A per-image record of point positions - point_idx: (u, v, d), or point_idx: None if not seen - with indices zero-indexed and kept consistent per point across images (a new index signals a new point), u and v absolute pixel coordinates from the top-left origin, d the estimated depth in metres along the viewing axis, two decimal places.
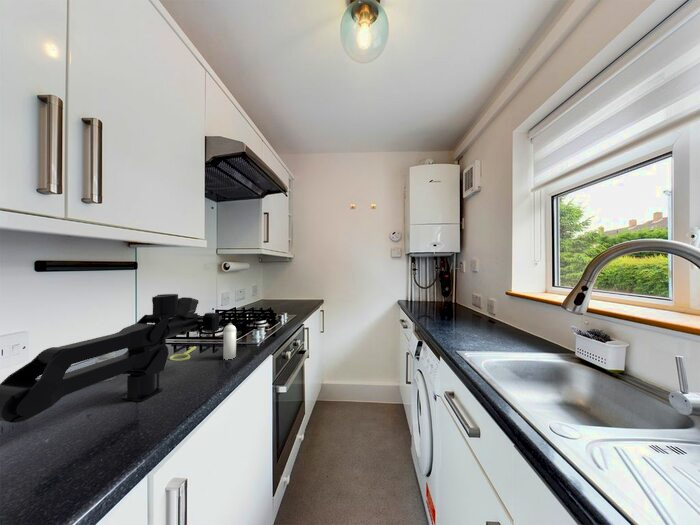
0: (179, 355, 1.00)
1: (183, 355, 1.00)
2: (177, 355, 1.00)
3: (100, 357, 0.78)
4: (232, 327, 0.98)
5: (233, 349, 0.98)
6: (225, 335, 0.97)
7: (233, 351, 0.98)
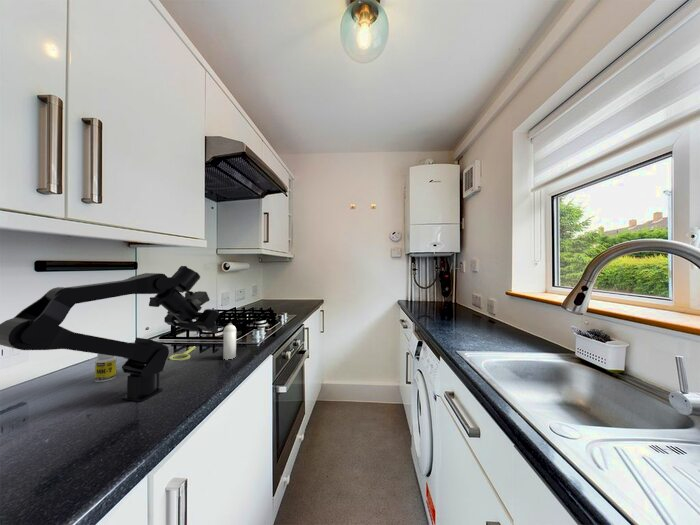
0: (179, 355, 1.00)
1: (183, 355, 1.00)
2: (177, 355, 1.00)
3: (100, 357, 0.78)
4: (232, 327, 0.98)
5: (233, 349, 0.98)
6: (225, 335, 0.97)
7: (233, 351, 0.98)
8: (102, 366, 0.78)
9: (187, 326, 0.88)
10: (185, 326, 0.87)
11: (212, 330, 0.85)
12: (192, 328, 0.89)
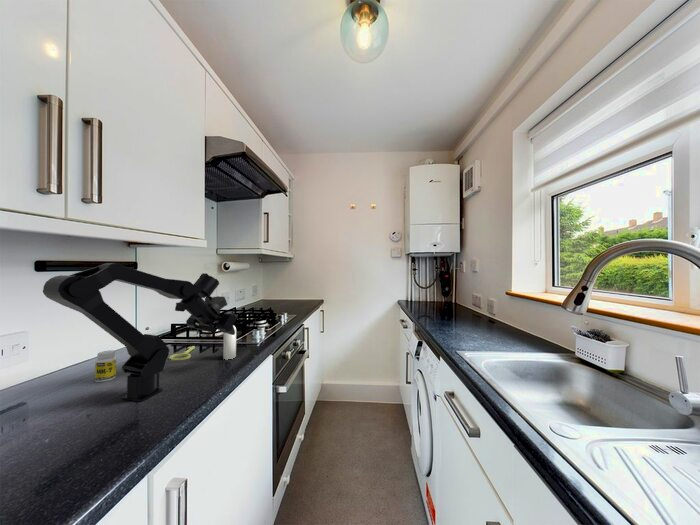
0: (179, 355, 1.00)
1: (183, 355, 1.00)
2: (177, 355, 1.00)
3: (100, 357, 0.78)
4: None
5: (233, 349, 0.98)
6: (225, 335, 0.97)
7: (233, 351, 0.98)
8: (102, 366, 0.78)
9: (206, 328, 0.95)
10: (205, 328, 0.94)
11: (230, 332, 0.92)
12: (211, 330, 0.96)
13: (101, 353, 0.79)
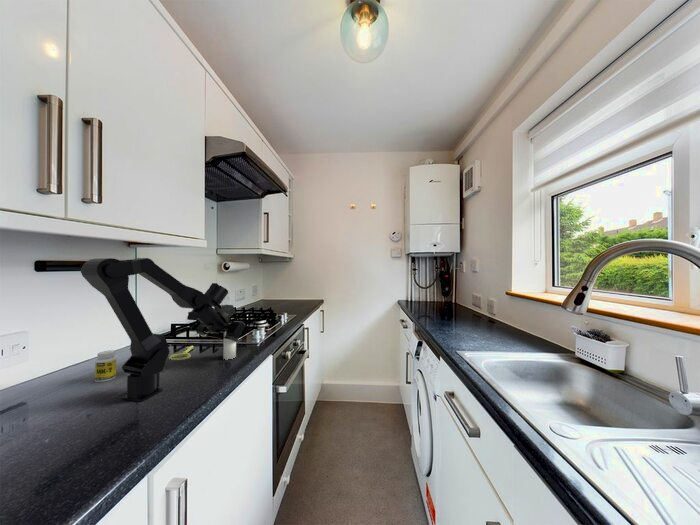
0: (178, 354, 1.00)
1: (183, 354, 1.01)
2: (176, 355, 1.00)
3: (100, 357, 0.78)
4: None
5: (233, 349, 0.98)
6: (225, 335, 0.97)
7: (233, 351, 0.98)
8: (102, 366, 0.78)
9: (220, 336, 0.98)
10: (218, 336, 0.97)
11: (234, 339, 0.97)
12: None
13: (101, 353, 0.79)
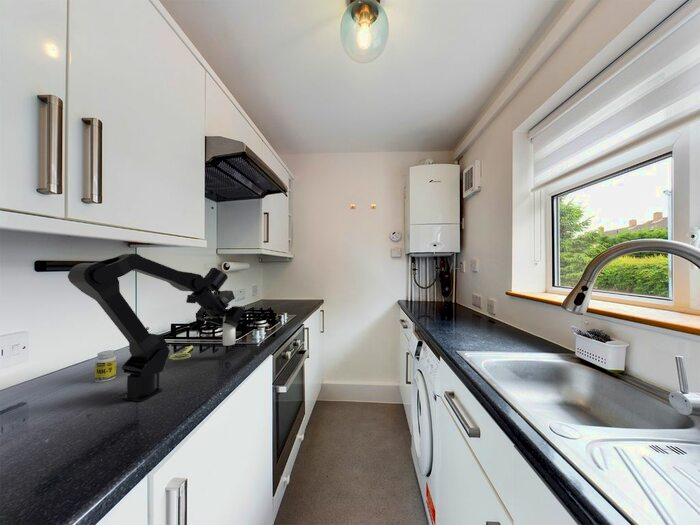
0: (178, 354, 1.01)
1: (183, 354, 1.01)
2: (176, 354, 1.00)
3: (100, 357, 0.78)
4: None
5: (232, 335, 0.98)
6: (224, 320, 0.97)
7: (232, 337, 0.98)
8: (102, 366, 0.78)
9: (219, 322, 0.98)
10: (217, 322, 0.97)
11: (233, 324, 0.96)
12: None
13: (101, 353, 0.79)
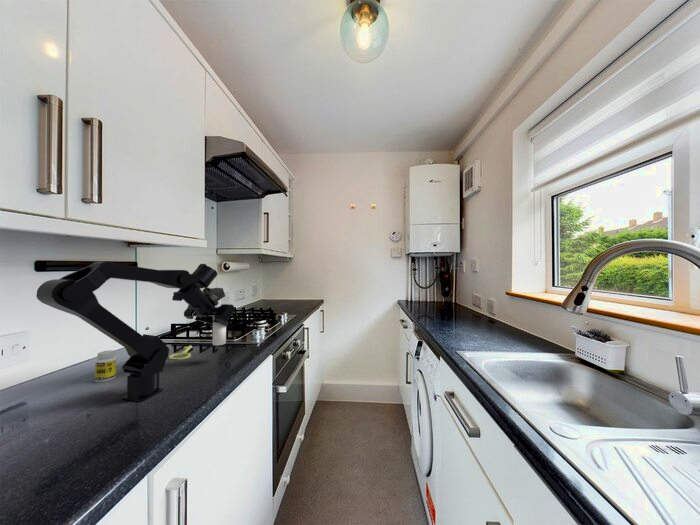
0: (178, 354, 1.01)
1: (182, 354, 1.01)
2: (176, 354, 1.00)
3: (100, 357, 0.78)
4: None
5: (223, 334, 0.93)
6: None
7: (223, 336, 0.93)
8: (102, 366, 0.78)
9: (209, 321, 0.93)
10: (207, 321, 0.93)
11: (223, 323, 0.92)
12: None
13: (101, 353, 0.79)
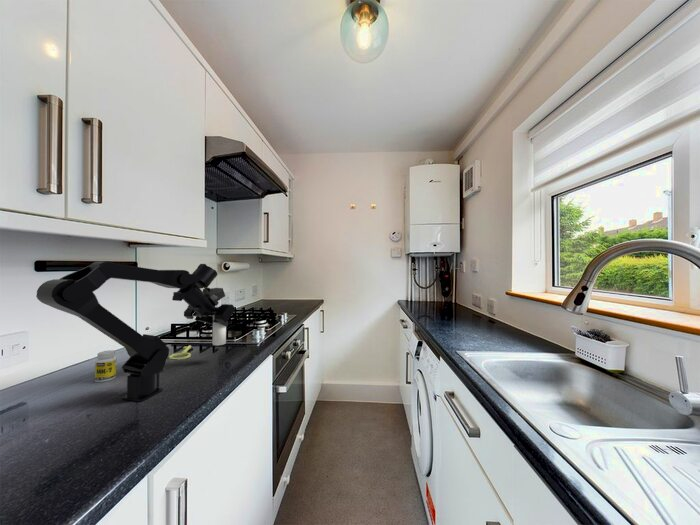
0: (178, 354, 1.01)
1: (182, 354, 1.01)
2: (176, 354, 1.01)
3: (100, 357, 0.78)
4: None
5: (223, 334, 0.93)
6: None
7: (223, 336, 0.93)
8: (102, 366, 0.78)
9: (209, 321, 0.93)
10: (207, 321, 0.93)
11: (223, 323, 0.92)
12: None
13: (101, 353, 0.79)
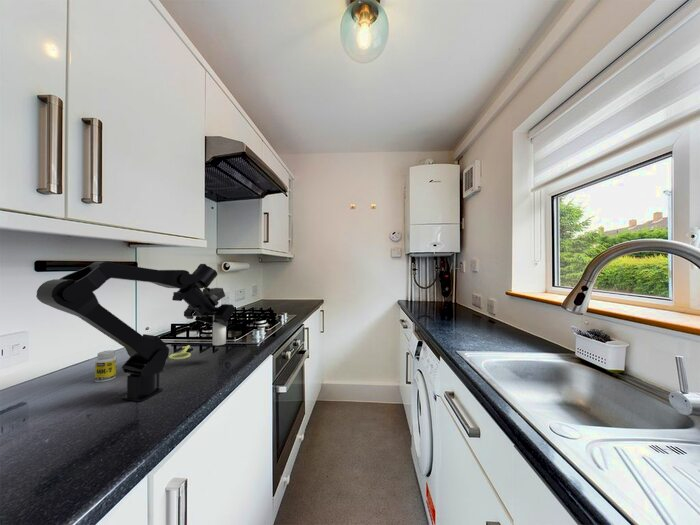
0: (177, 354, 1.01)
1: (182, 354, 1.01)
2: (175, 354, 1.01)
3: (100, 357, 0.78)
4: None
5: (223, 334, 0.93)
6: None
7: (223, 336, 0.93)
8: (102, 366, 0.78)
9: (209, 321, 0.93)
10: (207, 321, 0.93)
11: (223, 323, 0.92)
12: None
13: (101, 353, 0.79)
